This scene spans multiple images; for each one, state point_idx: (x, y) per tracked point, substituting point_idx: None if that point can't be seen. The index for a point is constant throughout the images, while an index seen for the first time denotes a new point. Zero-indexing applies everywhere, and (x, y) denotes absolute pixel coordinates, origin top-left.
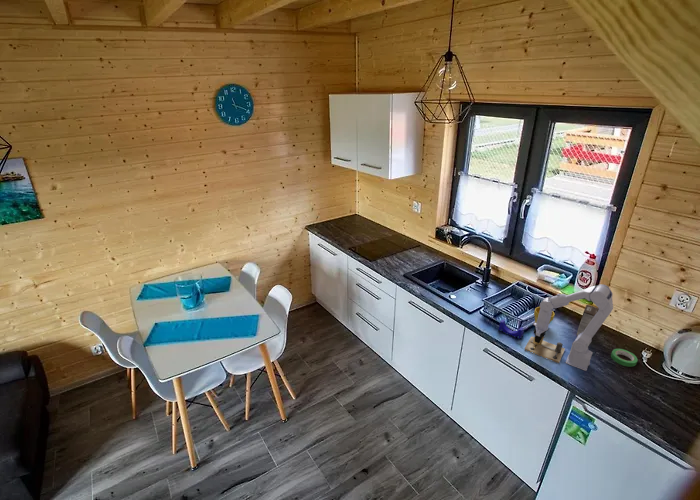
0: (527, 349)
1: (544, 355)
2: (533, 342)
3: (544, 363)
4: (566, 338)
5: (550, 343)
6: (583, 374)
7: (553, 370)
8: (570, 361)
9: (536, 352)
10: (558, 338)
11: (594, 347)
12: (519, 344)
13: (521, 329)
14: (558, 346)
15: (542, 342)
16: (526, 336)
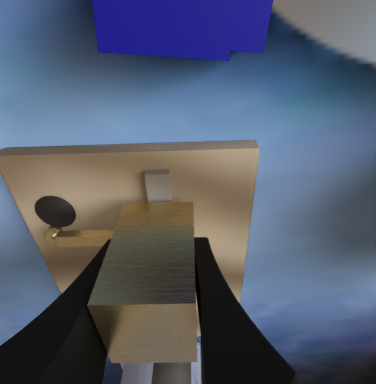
0: (6, 182)
1: (63, 283)
2: (123, 211)
3: (10, 285)
4: (370, 312)
5: (238, 281)
6: (103, 380)
7: (4, 320)
8: (126, 366)
9: (43, 243)
10: (350, 286)
11: (335, 381)
12: (41, 77)
13: (138, 33)
14: (152, 377)
15: (213, 244)
16: (250, 93)
